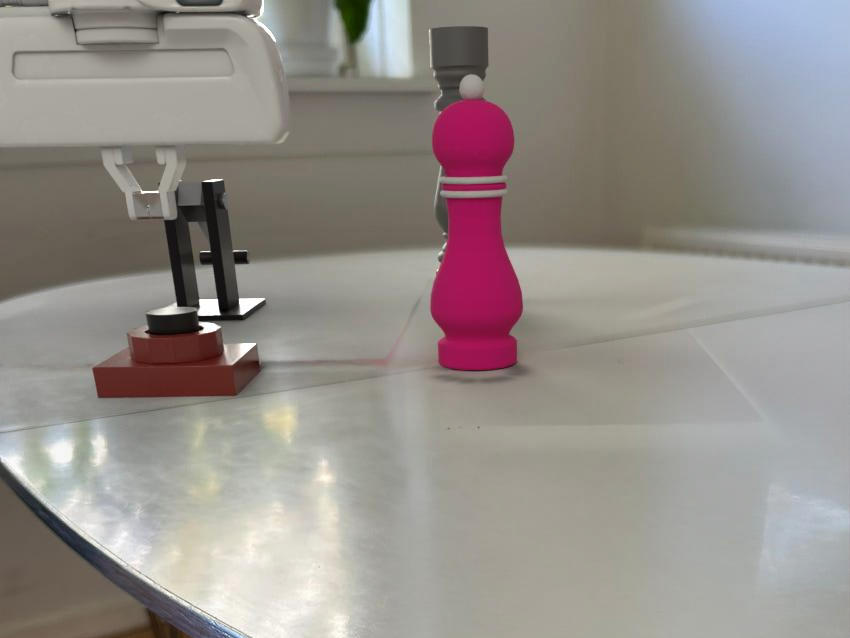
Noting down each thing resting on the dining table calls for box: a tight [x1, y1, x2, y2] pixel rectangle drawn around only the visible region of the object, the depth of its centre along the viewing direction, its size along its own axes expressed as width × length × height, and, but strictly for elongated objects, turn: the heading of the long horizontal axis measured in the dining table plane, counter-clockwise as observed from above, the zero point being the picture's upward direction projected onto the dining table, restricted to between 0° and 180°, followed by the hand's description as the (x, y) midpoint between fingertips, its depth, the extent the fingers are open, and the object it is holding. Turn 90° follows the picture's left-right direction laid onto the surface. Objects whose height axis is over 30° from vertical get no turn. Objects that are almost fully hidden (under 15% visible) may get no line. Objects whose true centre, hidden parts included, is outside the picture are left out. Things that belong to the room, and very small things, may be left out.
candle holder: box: [428, 25, 490, 276], centre depth 100 cm, size 6×6×25 cm
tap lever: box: [178, 180, 251, 266], centre depth 98 cm, size 12×5×2 cm
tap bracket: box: [157, 178, 267, 322], centre depth 96 cm, size 10×9×13 cm
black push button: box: [145, 306, 200, 335], centre depth 73 cm, size 4×4×2 cm
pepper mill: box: [429, 74, 524, 371], centre depth 75 cm, size 7×7×20 cm
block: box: [91, 321, 261, 399], centre depth 74 cm, size 10×8×4 cm
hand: (154, 219), depth 70 cm, fingers closed
